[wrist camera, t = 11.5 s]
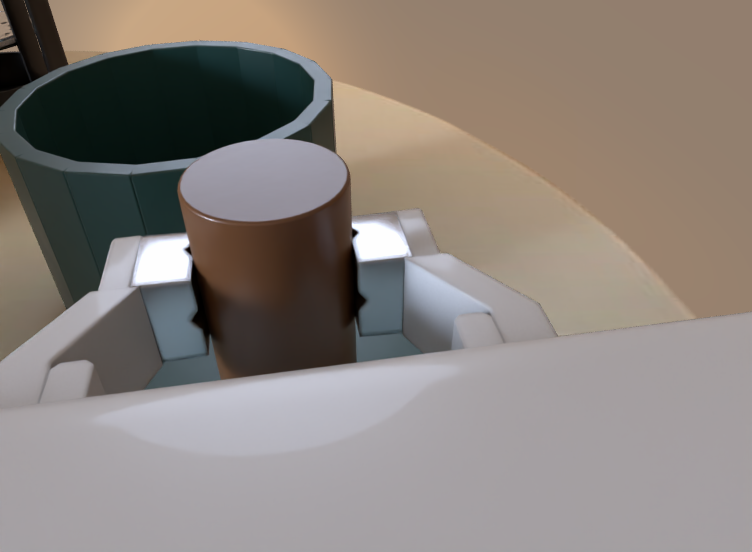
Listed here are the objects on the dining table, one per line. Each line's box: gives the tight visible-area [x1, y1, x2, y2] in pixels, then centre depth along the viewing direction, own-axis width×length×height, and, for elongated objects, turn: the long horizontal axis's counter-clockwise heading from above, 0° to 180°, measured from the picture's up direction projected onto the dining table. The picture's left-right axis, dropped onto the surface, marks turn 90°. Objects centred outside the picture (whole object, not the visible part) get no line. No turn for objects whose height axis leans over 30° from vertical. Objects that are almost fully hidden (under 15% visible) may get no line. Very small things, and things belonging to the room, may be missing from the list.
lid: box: [144, 139, 424, 390], centre depth 14 cm, size 15×15×10 cm
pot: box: [0, 41, 336, 309], centre depth 30 cm, size 14×14×10 cm
